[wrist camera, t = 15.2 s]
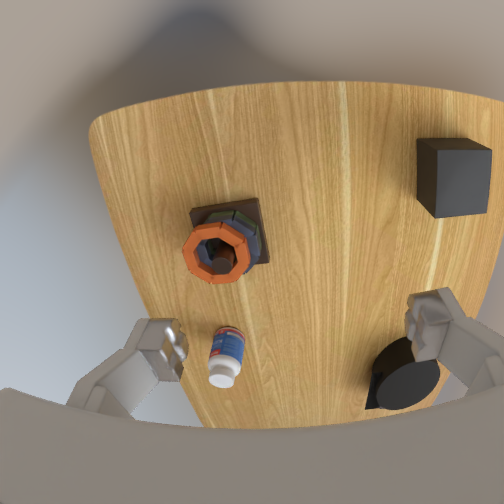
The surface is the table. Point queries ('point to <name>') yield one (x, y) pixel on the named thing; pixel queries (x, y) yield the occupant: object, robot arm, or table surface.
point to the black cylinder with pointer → (400, 378)
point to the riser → (453, 176)
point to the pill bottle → (226, 357)
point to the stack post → (241, 219)
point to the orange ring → (226, 235)
